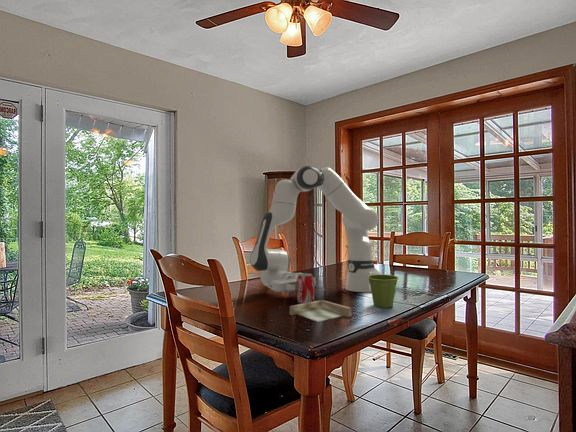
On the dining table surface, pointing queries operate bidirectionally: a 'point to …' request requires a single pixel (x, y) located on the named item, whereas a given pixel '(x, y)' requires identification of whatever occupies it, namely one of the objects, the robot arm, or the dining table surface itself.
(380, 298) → the plant pot
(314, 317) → the wooden stand
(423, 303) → the dining table surface
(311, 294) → the soda can
